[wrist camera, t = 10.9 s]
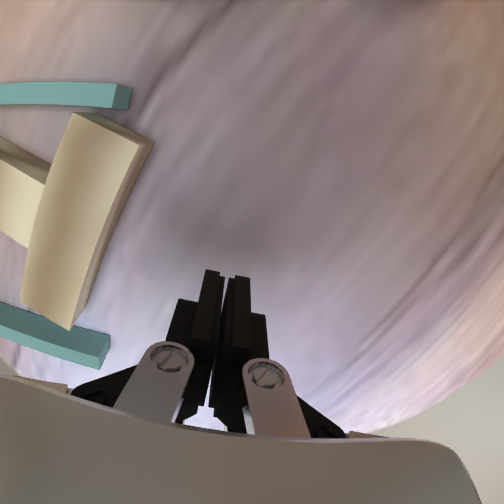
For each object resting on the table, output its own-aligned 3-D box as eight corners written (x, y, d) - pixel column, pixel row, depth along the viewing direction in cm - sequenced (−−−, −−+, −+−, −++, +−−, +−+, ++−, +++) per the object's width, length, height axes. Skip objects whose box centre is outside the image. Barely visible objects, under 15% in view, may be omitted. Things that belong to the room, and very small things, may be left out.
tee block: (154, 141, 16) (139, 145, 13) (86, 306, 19) (69, 331, 17) (9, 73, 13) (-19, 71, 10) (-32, 229, 16) (-56, 243, 14)
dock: (132, 89, 15) (116, 84, 12) (109, 347, 21) (99, 370, 18) (-29, 90, 13) (-51, 90, 10) (-23, 303, 19) (-38, 318, 17)
